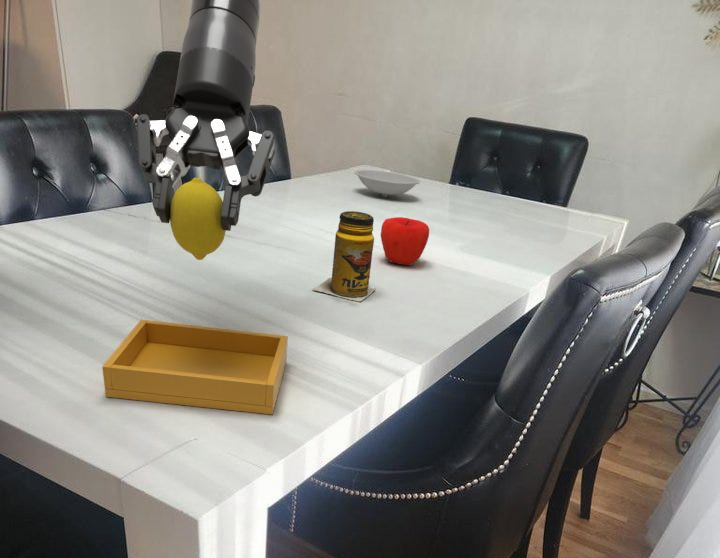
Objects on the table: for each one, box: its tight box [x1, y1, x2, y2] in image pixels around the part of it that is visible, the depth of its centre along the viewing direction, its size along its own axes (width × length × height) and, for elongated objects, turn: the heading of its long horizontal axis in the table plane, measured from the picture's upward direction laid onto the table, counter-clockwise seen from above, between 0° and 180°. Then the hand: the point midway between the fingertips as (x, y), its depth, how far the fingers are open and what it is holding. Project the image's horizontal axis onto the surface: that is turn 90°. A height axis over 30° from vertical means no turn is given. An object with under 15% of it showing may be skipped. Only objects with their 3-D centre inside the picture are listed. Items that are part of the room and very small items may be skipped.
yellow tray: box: [101, 319, 289, 415], centre depth 73 cm, size 18×14×4 cm
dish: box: [354, 169, 421, 198], centre depth 172 cm, size 18×14×5 cm
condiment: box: [311, 210, 377, 302], centre depth 102 cm, size 7×8×12 cm
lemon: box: [169, 177, 227, 261], centre depth 66 cm, size 6×6×8 cm
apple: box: [380, 216, 430, 266], centre depth 120 cm, size 9×9×8 cm
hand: (194, 221), depth 64 cm, fingers closed on lemon, 5 cm apart
